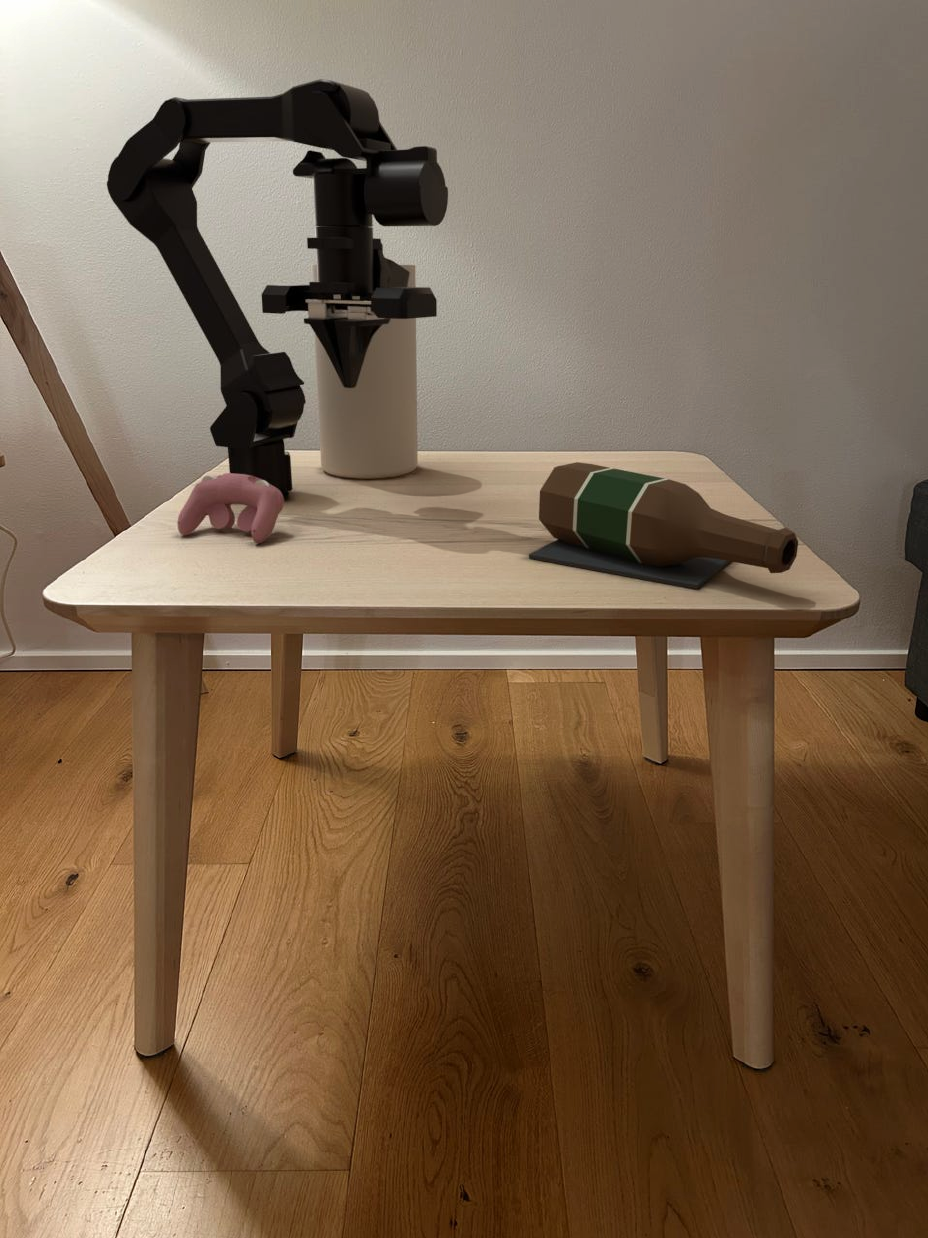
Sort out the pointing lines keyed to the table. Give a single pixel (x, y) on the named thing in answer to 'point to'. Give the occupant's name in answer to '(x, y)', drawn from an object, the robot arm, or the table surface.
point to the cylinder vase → (371, 405)
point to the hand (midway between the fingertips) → (349, 387)
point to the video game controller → (233, 489)
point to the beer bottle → (653, 520)
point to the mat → (631, 565)
